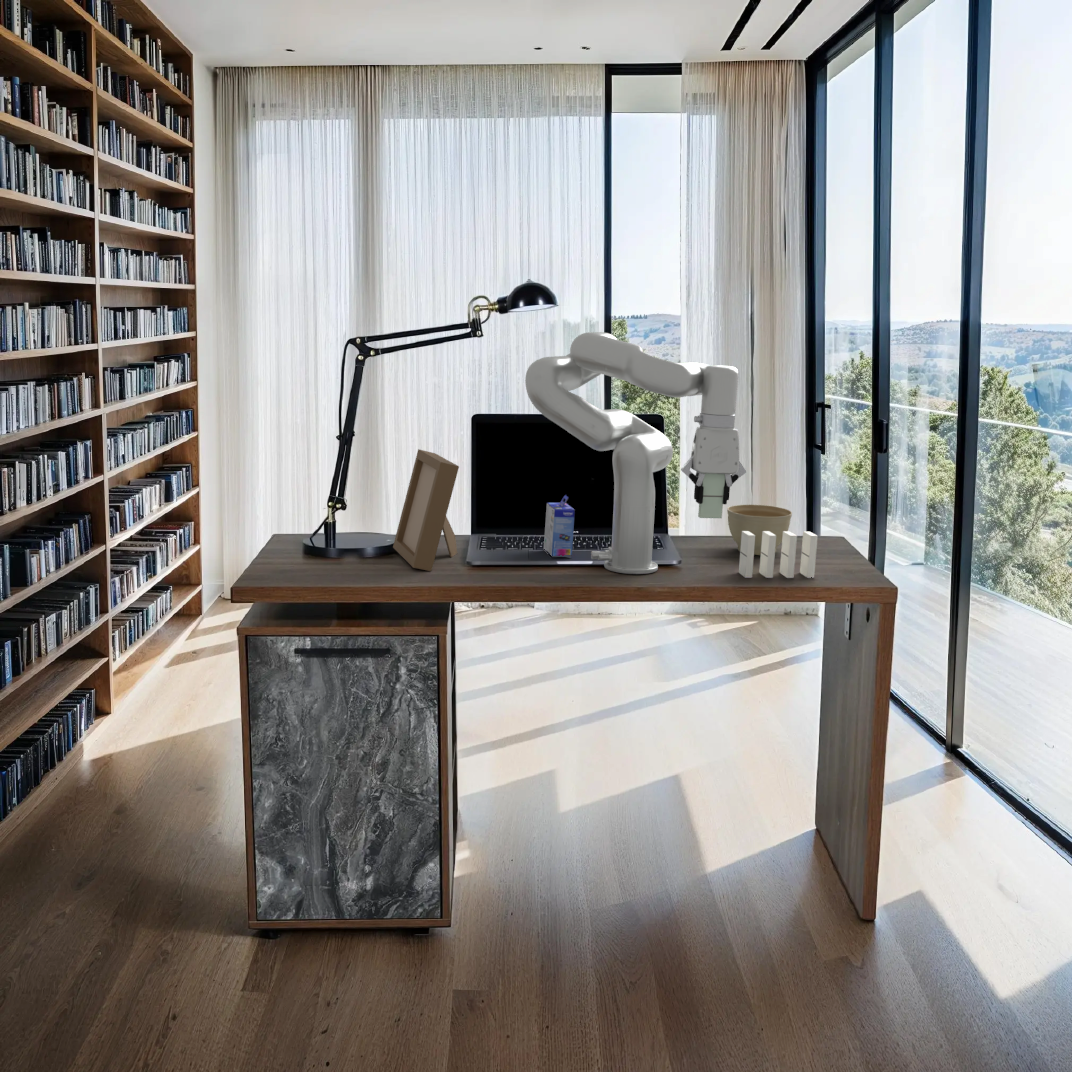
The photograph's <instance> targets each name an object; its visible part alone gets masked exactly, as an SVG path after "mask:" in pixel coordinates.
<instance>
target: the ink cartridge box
mask: <svg viewBox="0 0 1072 1072" xmlns="http://www.w3.org/2000/svg"><path fill="white" fill-rule="evenodd" d="M568 500H569V496H567V494H565V495H564V496H563V497H562V499H561V501H560V502H546V510H545V511H546V512H545V524H544V525H545V527H544V539H543V540H544V541H543V550H544V549H545V550H547V551H548V552H549V553H550V555H551V556H560V555H562V556H564V555H572V556H573V543H574V541H573V540H574V530H575V529H574V526H575V514H576V512H575V511H576V509H574V508H573V507H572V506H571V505H569V503H567V501H568ZM545 550H544V551H545Z"/></svg>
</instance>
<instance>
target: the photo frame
mask: <svg viewBox="0 0 1072 1072" xmlns="http://www.w3.org/2000/svg"><path fill="white" fill-rule="evenodd" d="M459 468H460V466H459V465H457V464H455V463H453V462H452V461H450V460H448V459H447V458H445V457H443V456H441V455H439V454H437V453H436V452H435V453H434V452H430V451H427V450H424V449H423V450H422V449H419V448H418V449H417V453H416V457H415V461H414V465H413V468H412V472H411V476H410V480H409V483H408V487H407V491H406V494H405V499H404V503H403V507H402V510H401V514H400V518H399V522H398V526H397V531H396V533H395V538H394V541H393V546H392V548H393V549H394V550H395V551H396V552H397V553H398V554H399V555H400V556H401V558H403V559H404V560H405V561H406V562H407V563H408V564H409V565H410V566H411V567H412V568H413V569H417V570H418V569H419V570H425V571H428V572H432V570H433V567H434V563H435V559H436V554H437V552H438V547H439V544H440V540H441V536H442V533H443V536H444V541H445V544H446V547H447V551H448V555H449V557H450V558H453V557H454V556H456V555H457V554H458V549H457V539H456V535H455V532H454V530H453V527H452V525H451V524H450V521H449V519H448V517H447V514H448V510H449V507H450V502H451V499H452V494H453V492H454V487H455V483H456V480H457V477H458V472H459Z"/></svg>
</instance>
